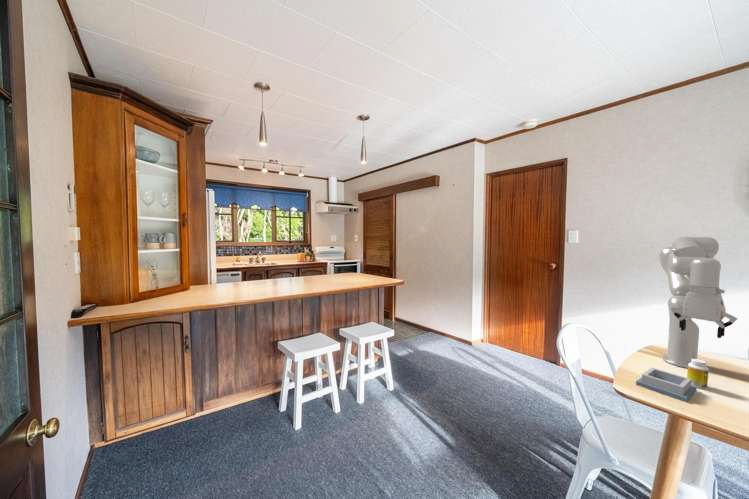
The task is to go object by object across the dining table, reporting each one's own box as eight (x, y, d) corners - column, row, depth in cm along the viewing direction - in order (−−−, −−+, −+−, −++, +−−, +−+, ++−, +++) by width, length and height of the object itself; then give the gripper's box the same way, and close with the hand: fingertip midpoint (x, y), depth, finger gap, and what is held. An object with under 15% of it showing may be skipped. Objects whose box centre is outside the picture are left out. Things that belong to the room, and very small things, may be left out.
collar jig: (648, 375, 124) (648, 365, 123) (696, 391, 112) (697, 379, 112) (636, 384, 116) (636, 373, 116) (686, 402, 104) (687, 390, 104)
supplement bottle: (705, 390, 112) (707, 365, 111) (685, 384, 117) (686, 359, 116) (708, 386, 115) (710, 361, 114) (688, 380, 120) (690, 356, 119)
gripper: (740, 293, 108) (737, 338, 109) (675, 286, 123) (672, 326, 124) (736, 295, 104) (733, 342, 105) (669, 287, 119) (667, 329, 120)
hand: (700, 333), depth 114 cm, fingers open, 9 cm apart
